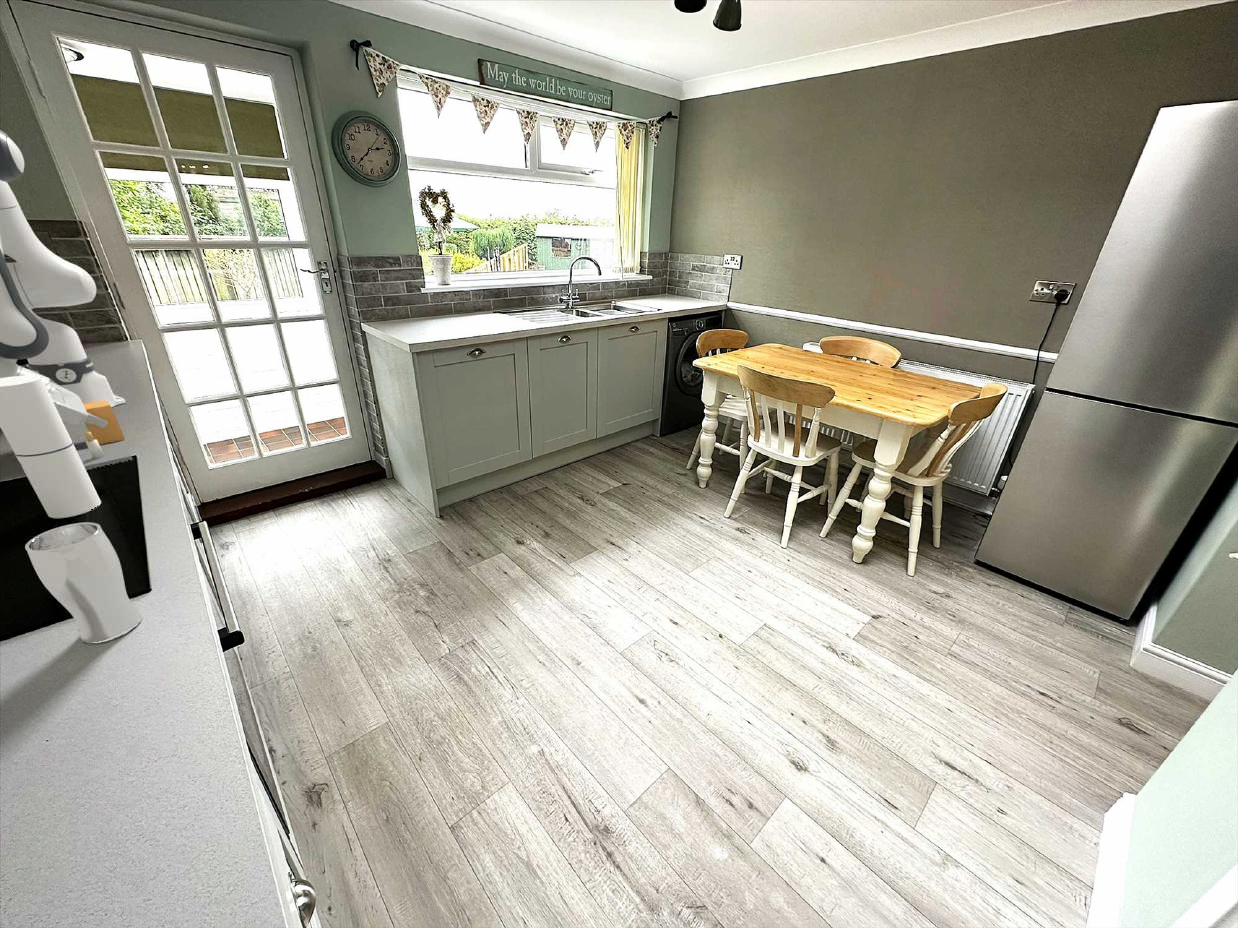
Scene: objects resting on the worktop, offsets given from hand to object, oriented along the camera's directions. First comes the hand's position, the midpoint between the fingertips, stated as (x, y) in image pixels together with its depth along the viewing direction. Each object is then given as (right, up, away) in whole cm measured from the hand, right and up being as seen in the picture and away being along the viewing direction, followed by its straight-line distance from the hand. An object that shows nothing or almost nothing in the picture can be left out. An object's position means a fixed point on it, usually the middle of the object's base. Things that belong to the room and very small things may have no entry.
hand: (104, 420), depth 122 cm
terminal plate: (+7, -9, -8) cm, 14 cm away
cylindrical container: (+23, -19, -27) cm, 40 cm away
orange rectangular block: (-1, -5, +2) cm, 5 cm away
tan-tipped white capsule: (+9, -10, -9) cm, 16 cm away
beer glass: (+58, -33, -54) cm, 86 cm away
